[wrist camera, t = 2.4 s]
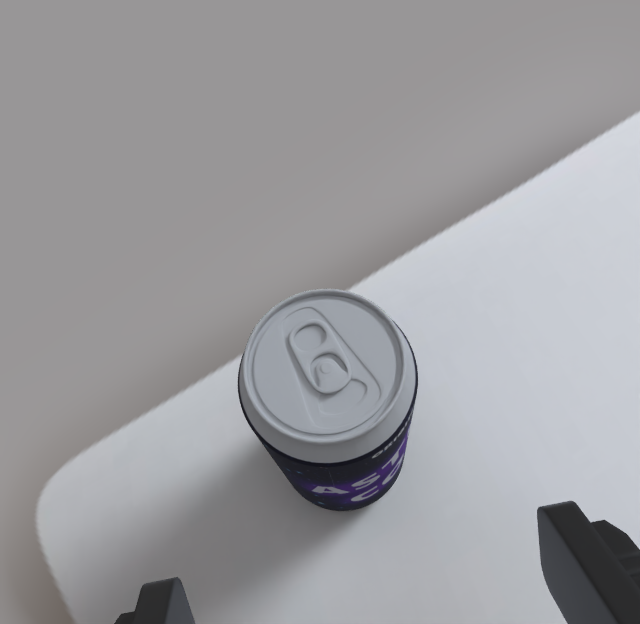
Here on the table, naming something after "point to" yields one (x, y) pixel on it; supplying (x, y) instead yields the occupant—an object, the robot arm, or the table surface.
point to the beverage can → (330, 395)
